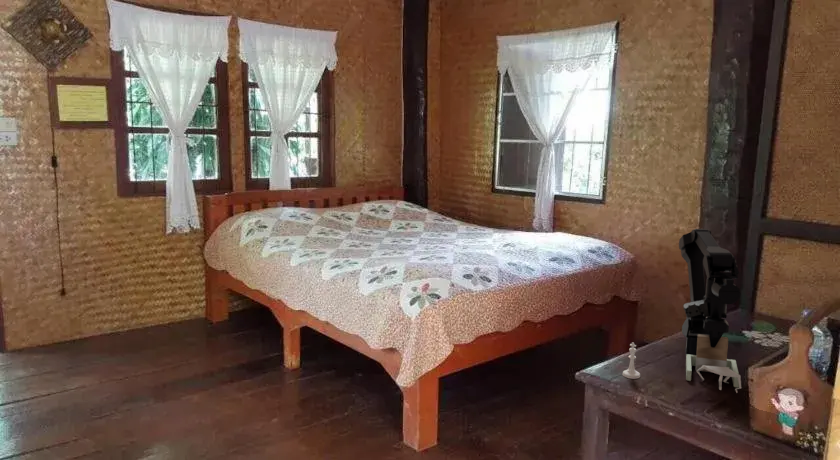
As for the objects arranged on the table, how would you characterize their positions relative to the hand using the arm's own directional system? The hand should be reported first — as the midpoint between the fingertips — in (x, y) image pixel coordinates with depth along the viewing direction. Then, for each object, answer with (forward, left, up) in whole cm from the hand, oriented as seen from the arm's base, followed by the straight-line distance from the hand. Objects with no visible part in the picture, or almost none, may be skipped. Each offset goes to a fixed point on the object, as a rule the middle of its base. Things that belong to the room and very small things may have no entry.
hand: (712, 345), depth 183 cm
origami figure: (+2, -9, -8) cm, 13 cm away
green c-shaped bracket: (0, -2, -8) cm, 8 cm away
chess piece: (-21, -11, -8) cm, 26 cm away
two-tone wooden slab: (0, 0, -8) cm, 8 cm away
